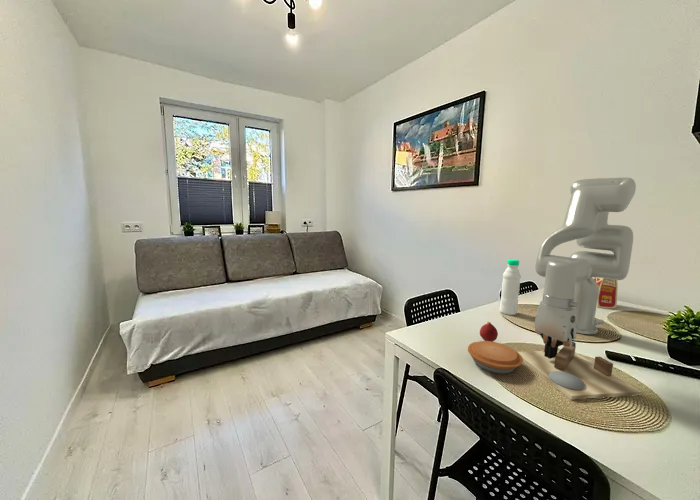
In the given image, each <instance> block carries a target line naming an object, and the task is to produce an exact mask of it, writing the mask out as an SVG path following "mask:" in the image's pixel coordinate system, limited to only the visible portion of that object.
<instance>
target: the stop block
mask: <svg viewBox="0 0 700 500" xmlns="http://www.w3.org/2000/svg"><path fill="white" fill-rule="evenodd" d="M593 363H594V369H595V370H597V371H599V372H600V373H602V374H603V375H605V376H611V374H612V373H613V369H614V363H613V362H611V361H609V360H607V359H605V358H604V357H601V356H595V357H594V362H593ZM612 375H613V374H612Z"/></svg>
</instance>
